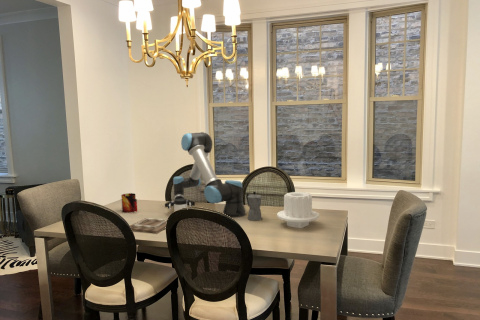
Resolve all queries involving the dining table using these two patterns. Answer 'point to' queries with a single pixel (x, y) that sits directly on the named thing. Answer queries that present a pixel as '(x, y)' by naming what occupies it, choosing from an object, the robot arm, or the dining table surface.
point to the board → (149, 225)
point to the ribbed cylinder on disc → (297, 209)
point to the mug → (129, 203)
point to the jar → (180, 204)
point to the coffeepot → (254, 206)
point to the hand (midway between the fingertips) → (180, 207)
